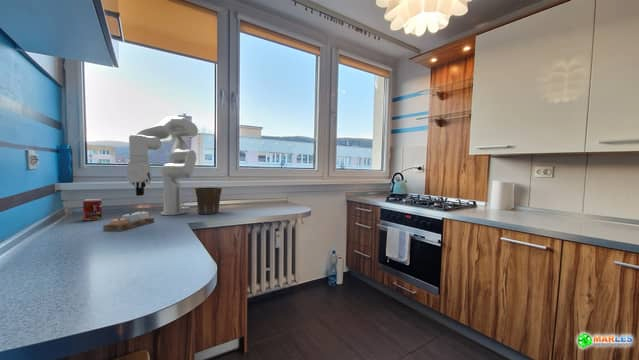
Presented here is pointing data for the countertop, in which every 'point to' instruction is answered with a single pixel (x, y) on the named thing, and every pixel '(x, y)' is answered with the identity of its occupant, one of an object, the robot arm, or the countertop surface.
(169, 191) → the robot arm
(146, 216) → the tile one pip
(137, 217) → the tile two pip
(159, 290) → the countertop surface
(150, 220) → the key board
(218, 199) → the plant pot
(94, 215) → the canned food
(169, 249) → the countertop surface
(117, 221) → the tile three pip
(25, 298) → the countertop surface
